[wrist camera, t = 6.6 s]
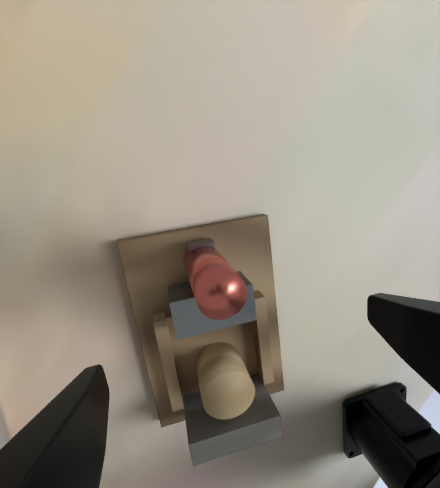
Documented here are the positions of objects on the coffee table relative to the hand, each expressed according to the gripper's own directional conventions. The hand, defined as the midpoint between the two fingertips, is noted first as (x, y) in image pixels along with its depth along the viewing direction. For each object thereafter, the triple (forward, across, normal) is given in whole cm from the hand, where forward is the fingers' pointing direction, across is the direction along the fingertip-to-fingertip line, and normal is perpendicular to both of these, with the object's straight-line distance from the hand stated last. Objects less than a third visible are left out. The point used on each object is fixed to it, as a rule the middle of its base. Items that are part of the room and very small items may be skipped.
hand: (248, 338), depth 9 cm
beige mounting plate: (+11, 0, +5) cm, 12 cm away
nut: (+10, 0, +8) cm, 13 cm away
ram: (+10, 0, +1) cm, 10 cm away
